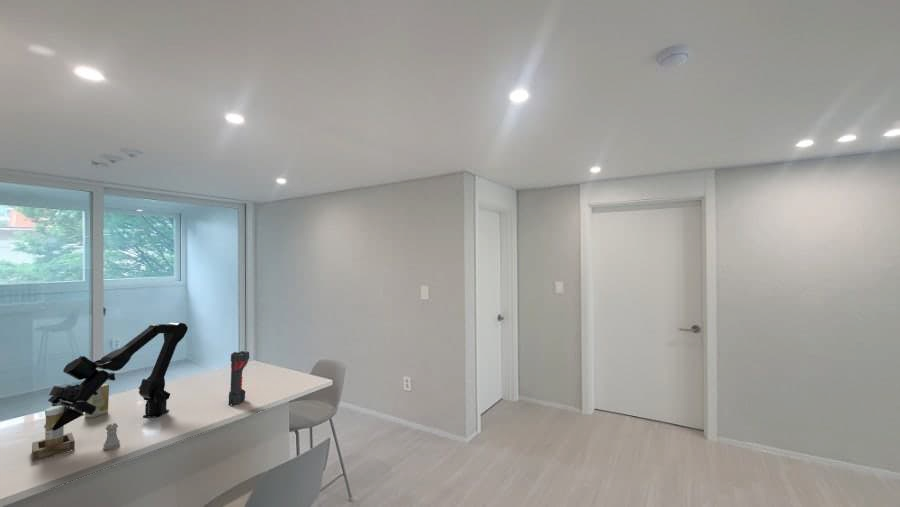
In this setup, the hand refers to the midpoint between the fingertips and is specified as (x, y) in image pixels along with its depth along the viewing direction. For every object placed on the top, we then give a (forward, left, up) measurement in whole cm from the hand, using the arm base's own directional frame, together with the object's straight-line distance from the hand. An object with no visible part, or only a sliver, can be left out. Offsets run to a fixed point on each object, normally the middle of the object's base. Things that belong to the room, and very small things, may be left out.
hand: (49, 428), depth 126 cm
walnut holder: (0, -1, -8) cm, 8 cm away
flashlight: (-40, -44, -8) cm, 60 cm away
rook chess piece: (-18, -3, -8) cm, 20 cm away
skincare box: (+13, -31, -8) cm, 35 cm away
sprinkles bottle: (-1, -1, -7) cm, 7 cm away
